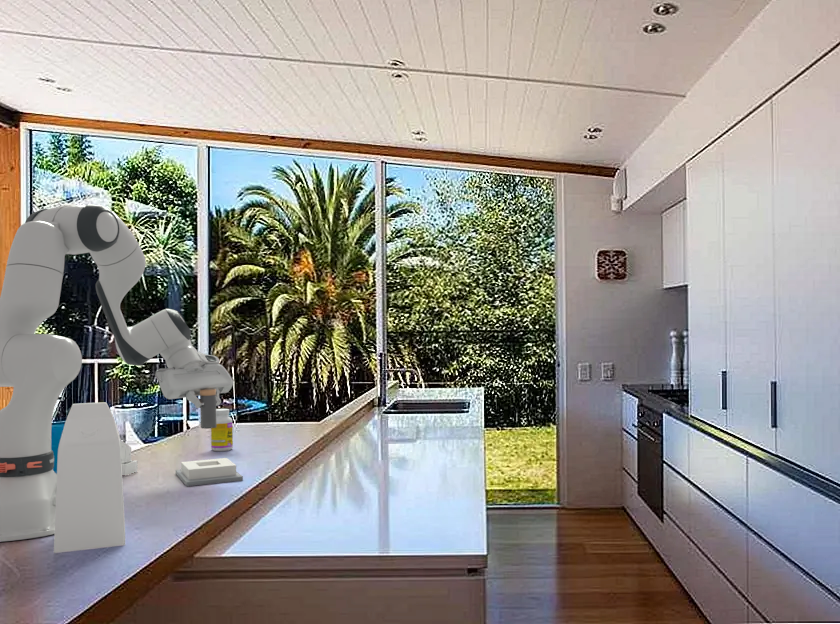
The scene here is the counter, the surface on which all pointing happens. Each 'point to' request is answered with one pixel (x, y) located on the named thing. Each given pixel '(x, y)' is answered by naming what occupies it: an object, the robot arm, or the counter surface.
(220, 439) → the supplement bottle
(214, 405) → the battery
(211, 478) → the socket
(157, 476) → the counter surface
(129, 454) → the white angled block
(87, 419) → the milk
